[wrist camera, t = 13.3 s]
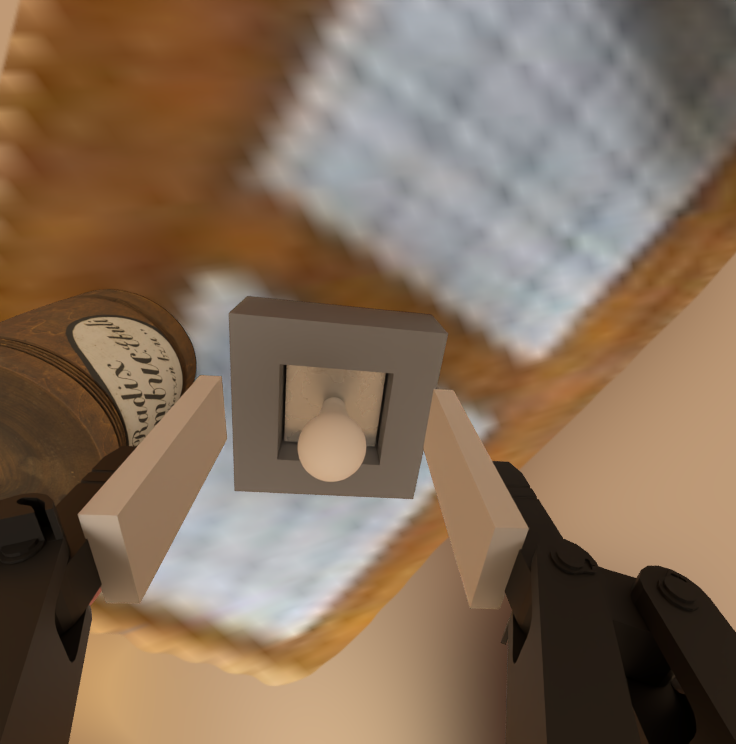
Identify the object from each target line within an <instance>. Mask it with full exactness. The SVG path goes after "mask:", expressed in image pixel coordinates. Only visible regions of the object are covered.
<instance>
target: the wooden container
mask: <svg viewBox="0 0 736 744" xmlns="http://www.w3.org/2000/svg"><path fill="white" fill-rule="evenodd" d="M195 373H196V359H195V354H194V350H193V346H192V344H191V342H190V340H189V338H188V336H187V334H186V333H185V331H184V330H183V328H182V327H181V325H180V324H179V323H178V322H177V321H176V320H175V319H174V318H173V317H172V316H171V315H170V314H169V313H168V312H167V311H166V310H164V309H163V308H162V307H160V306H159V305H157V304H156V303H154V302H152V301H150V300H148V299H146V298H145V297H142V296H140V295H137V294H134V293H130V292H126V291H120V290H110V289H107V290H95V291H91V292H87V293H83V294H80V295H77V296H74V297H71V298H68V299H65V300H61V301H58V302H55V303H52V304H49V305H46V306H43V307H40V308H37V309H34V310H31V311H29V312H26V313H23V314H20V315H17V316H15V317H12V318H10V319H7V320H5V321H2V322H0V500H3V499H5V498H9V497H12V496H16V495H20V494H28V493H40V494H45V495H48V496H49V497H50V498H51V499H52V500H53V501H54V504H55V506H56V505H57V504H58V503H59V502H60V501H61V500H62V499H63V498H64V497H65V496H66V495H67V494H68V493H69V492H70V491H71V490H72V489H73V488H74V487H75V486H76V485H77V484H78V483H81V480H82V479H83V478H84V477H85V476H86V475H87V474H88V473H89V472H91V471H92V469H93V468H94V467H95V466H96V465H97V464H98V462H99V461H100V460H101V459H102V458H103V457H104V456H106V455H108V454H109V453H111V452H113V451H115V450H116V449H118V448H120V447H121V446H138V445H139V444H140V443H141V442H142V441H143V440H144V438H145V437H146V436H147V435H148V434H149V433H150V432H151V431H152V429H153V428H154V427H155V426H156V425H157V424H158V423H159V421H160V420H161V419H162V418H163V417H164V416H165V415H166V413H167V412H168V411H169V410H170V409H171V408H172V407H173V406H174V404H175V403H176V402H177V401H178V400H179V399H180V398H181V396H182V395H183V394H184V393H185V392H186V391H187V390H188V389H189V387H190V386H191V385H192V384H193V382H194V378H195Z"/></svg>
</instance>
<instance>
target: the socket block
mask: <svg viewBox="0 0 736 744" xmlns="http://www.w3.org/2000/svg"><path fill="white" fill-rule="evenodd" d="M229 332H230V363H231V394H232V425H233V456H234V487H235V491H248V492H270V493H292V494H314V495H336V496H358V497H380V498H402V499H413V497H414V492H415V487H416V483H417V478H418V473H419V468H420V464H421V459H422V454H423V450H424V449H423V446H424V441H425V435H426V430H427V424H428V419H429V413H430V407H431V402H432V396H433V391H434V389H436V388H437V383H438V379H439V374H440V369H441V365H442V360H443V355H444V350H445V346H446V341H447V336H448V333H447V332H446V331H445V330H444V329H443V327H442V326H441V325H440V324H439V323H438V322H437V321H436V319H435V318H434V317H433V316H432V315H430V314H420V313H410V312H400V311H390V310H380V309H370V308H360V307H350V306H340V305H330V304H321V303H311V302H301V301H291V300H281V299H271V298H261V297H251V296H247V297H246V298H245V299H244V300H243V301H242V302H240V303H239V304H238V305H237V306H236V307H235V308H234V309H233V310H232V311H231V312H230V313H229ZM287 365H295V366H307V367H320V368H332V369H344V370H356V371H368V372H381V373H386V375H385V382H384V389H383V395H382V402H381V409H380V415H379V422H378V429H377V436H376V442H375V446H366V453H365V457H364V460H363V462H362V464H361V466H360V467H359V469H358V470H357V471H356V472H355V473H354V474H352V475H351V476H349V477H348V478H346V479H344V480H340V481H335V482H327V481H322V480H319V479H317V478H315V477H313V476H312V475H310V474H309V473H308V472H307V471H306V470H305V469H304V467H303V466H302V463H301V461H300V459H299V455H298V442H292V441H284V433H285V402H286V371H287Z"/></svg>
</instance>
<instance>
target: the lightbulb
mask: <svg viewBox="0 0 736 744" xmlns="http://www.w3.org/2000/svg"><path fill="white" fill-rule="evenodd" d="M365 453H366V439H365V435H364V433H363V431H362V429H361V427H360V426H359V424H358V423H357V422H356V421H355V420H353V419H352V418H350V417H349V415H348V412H347V411H346V407H345V403H344V402H343V401H342V400H341V399H339V398H337V397H331V398H328V399H326V400H325V401H324V403H323V405H322V409H321V410H320V412H319V414H318V416H316V417H314V418H313V419H312V420H310V421H309V422H308V423H307V424H306V425H305V427H304V428H303V430H302V432H301V433H300V436H299V440H298V455H299V459H300V461H301V463H302V466H303V467H304V469H305V470H306V471H307V472H308V473H309V474H310V475H312V476H313V477H315V478H317V479H319V480H322V481H327V482H335V481H340V480H344V479H346V478H348V477H349V476H351V475H352V474H354V473H355V472H356V471H357V470H358V469H359V467H360V466H361V464H362V462H363V460H364V457H365Z"/></svg>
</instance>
